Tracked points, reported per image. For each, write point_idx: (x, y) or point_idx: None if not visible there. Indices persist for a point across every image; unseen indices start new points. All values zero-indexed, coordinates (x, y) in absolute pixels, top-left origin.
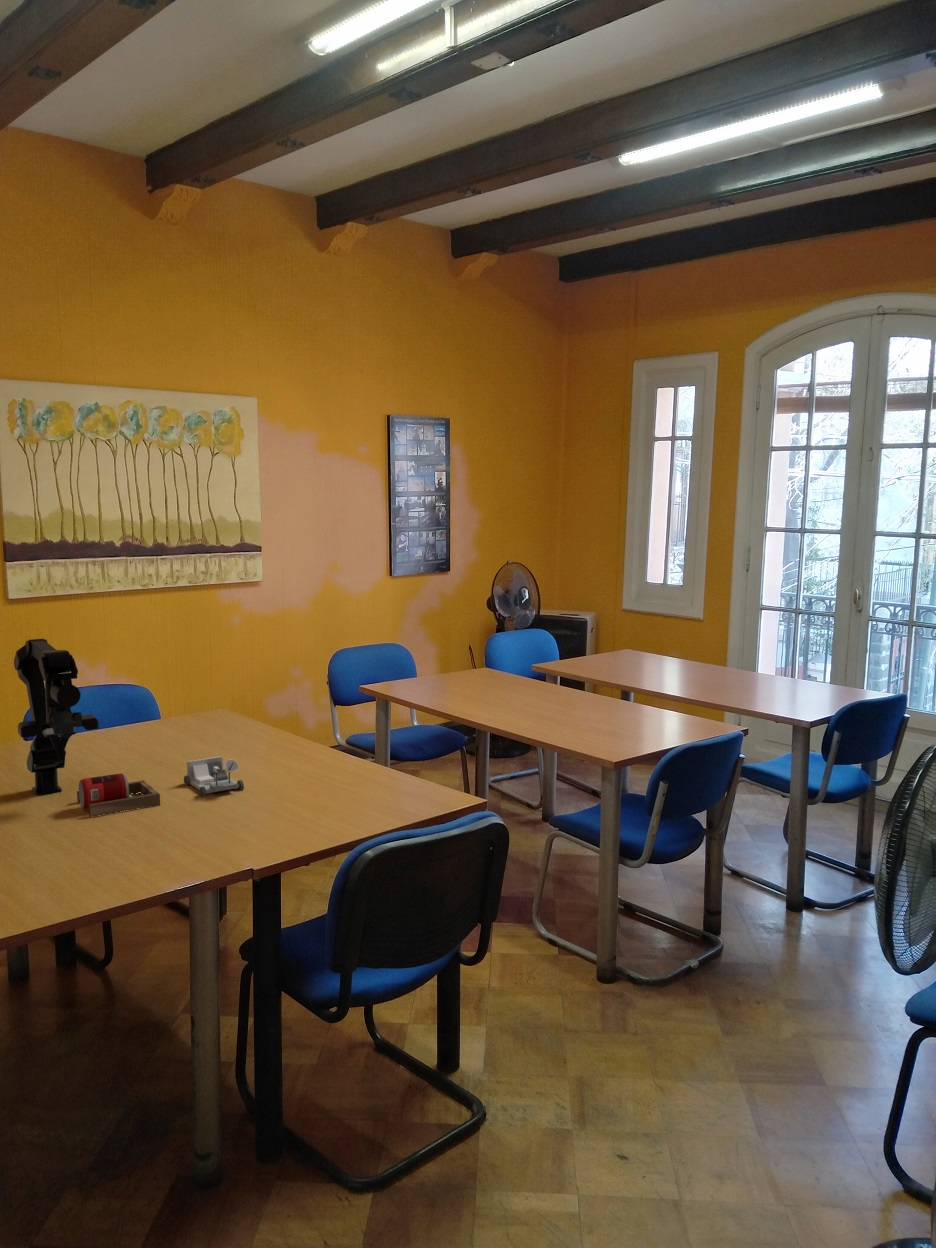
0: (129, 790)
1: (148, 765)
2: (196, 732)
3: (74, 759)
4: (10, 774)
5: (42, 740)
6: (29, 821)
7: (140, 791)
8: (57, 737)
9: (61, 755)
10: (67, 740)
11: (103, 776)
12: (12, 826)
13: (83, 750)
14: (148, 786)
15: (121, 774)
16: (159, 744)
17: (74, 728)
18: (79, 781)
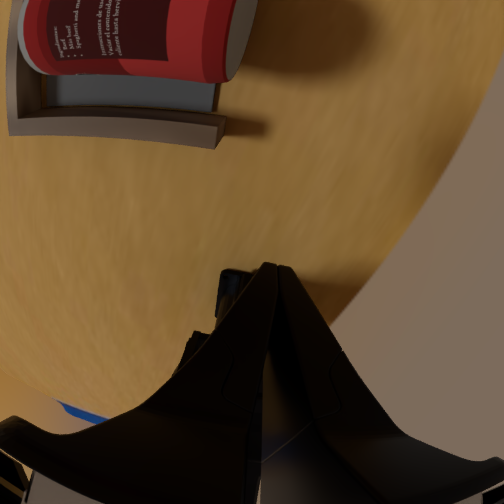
0: (55, 111)
1: (30, 293)
2: (6, 350)
3: (147, 387)
4: None
5: (259, 448)
6: (442, 70)
7: (37, 106)
8: (369, 470)
9: (270, 272)
10: (178, 384)
11: (99, 1)
12: (487, 78)
13: (130, 399)
14: (10, 61)
15: (30, 8)
16: (34, 353)
17: (29, 498)
18: (227, 47)
